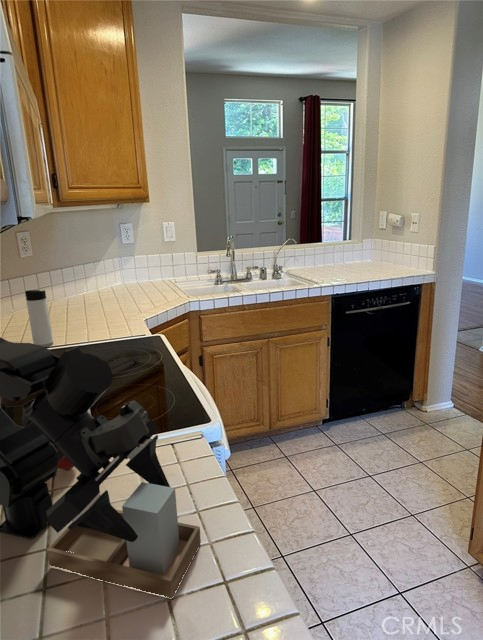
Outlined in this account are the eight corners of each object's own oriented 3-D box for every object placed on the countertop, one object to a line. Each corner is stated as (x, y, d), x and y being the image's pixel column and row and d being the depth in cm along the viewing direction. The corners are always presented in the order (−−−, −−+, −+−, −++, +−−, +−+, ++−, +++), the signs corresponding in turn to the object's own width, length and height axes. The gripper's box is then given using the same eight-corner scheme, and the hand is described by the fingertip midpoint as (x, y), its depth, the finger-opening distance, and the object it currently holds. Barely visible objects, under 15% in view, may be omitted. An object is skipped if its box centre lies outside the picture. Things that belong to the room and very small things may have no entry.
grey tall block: (129, 569, 58) (122, 506, 55) (148, 541, 62) (141, 482, 60) (163, 578, 56) (157, 513, 54) (179, 549, 61) (175, 488, 58)
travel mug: (29, 347, 149) (19, 290, 144) (42, 341, 155) (34, 287, 150) (44, 349, 147) (35, 291, 142) (57, 342, 154) (49, 287, 148)
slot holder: (50, 568, 59) (46, 550, 58) (91, 520, 68) (89, 504, 67) (172, 600, 54) (170, 581, 53) (200, 544, 62) (199, 526, 62)
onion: (74, 457, 85) (69, 420, 82) (90, 467, 81) (85, 429, 79) (45, 471, 80) (39, 433, 78) (61, 483, 77) (55, 443, 75)
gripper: (53, 431, 46) (155, 539, 45) (142, 366, 63) (216, 444, 63) (6, 483, 50) (99, 581, 50) (100, 409, 67) (170, 482, 67)
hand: (153, 514), depth 57 cm, fingers open, 9 cm apart
